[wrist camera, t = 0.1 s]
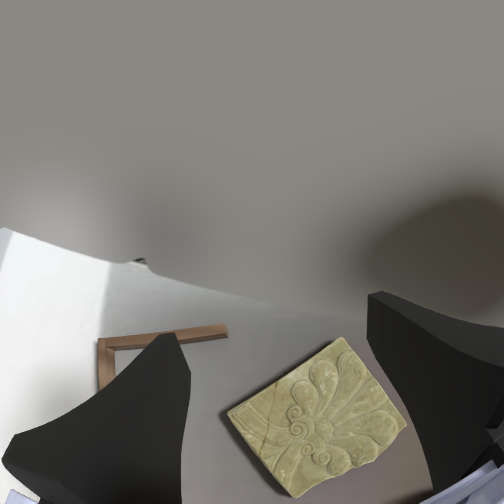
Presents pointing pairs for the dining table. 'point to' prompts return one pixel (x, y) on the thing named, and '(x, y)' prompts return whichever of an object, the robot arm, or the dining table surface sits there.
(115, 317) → the dining table surface
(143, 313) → the dining table surface
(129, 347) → the frame
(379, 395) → the decorative tile
